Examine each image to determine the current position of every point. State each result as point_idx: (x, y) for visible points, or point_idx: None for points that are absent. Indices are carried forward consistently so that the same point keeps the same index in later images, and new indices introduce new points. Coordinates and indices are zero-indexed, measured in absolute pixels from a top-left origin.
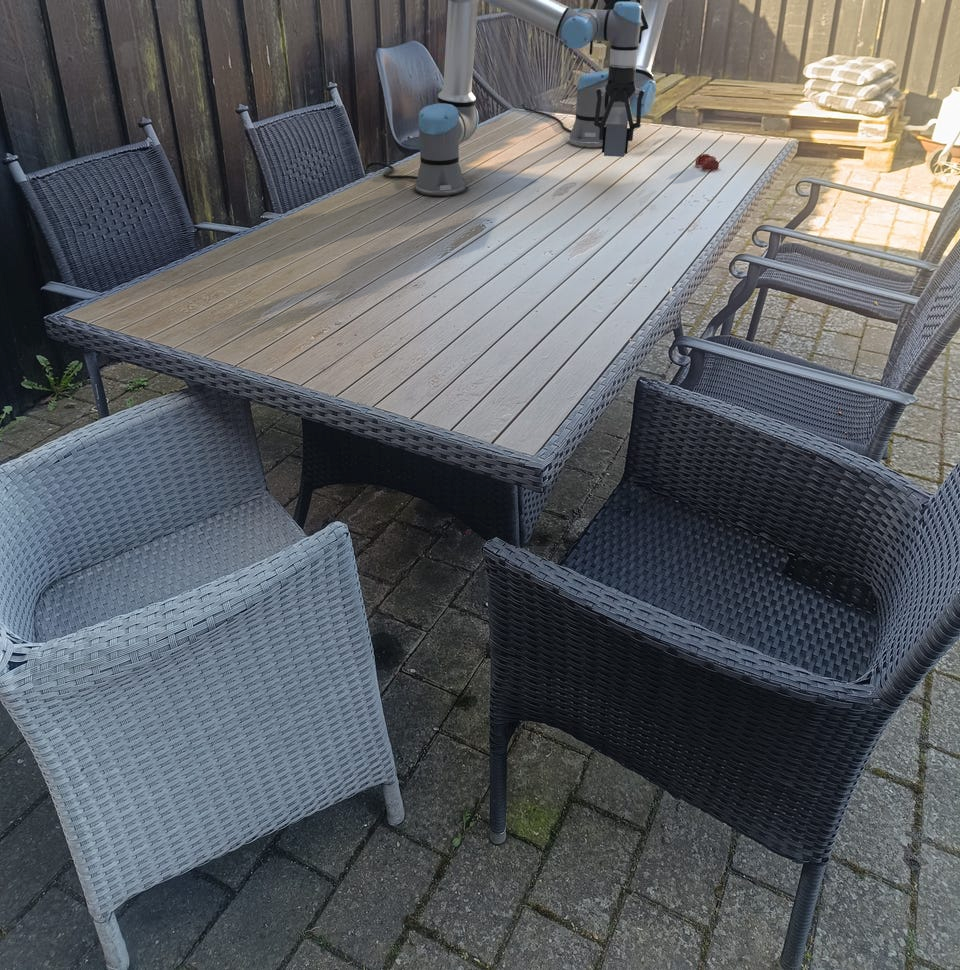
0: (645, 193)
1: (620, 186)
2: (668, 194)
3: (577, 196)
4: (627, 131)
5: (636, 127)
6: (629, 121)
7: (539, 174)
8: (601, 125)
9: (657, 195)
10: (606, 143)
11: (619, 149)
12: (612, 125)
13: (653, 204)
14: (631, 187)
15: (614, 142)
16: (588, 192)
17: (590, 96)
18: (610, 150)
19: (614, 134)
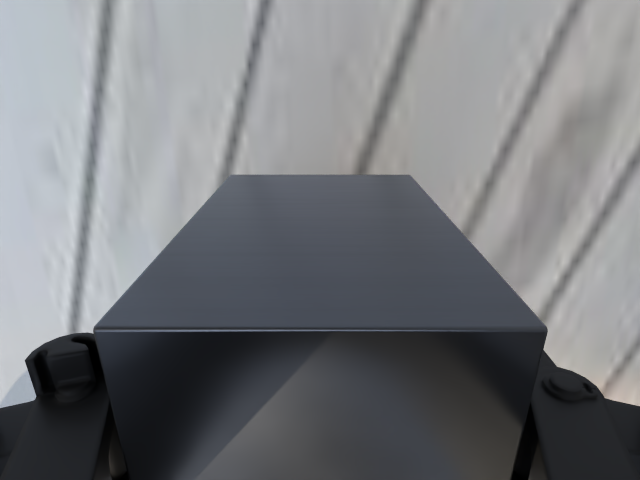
0: (154, 207)
1: None
2: (45, 207)
3: (488, 105)
4: None
5: (5, 411)
6: (68, 475)
7: (620, 397)
8: (584, 401)
9: (92, 184)
10: (421, 207)
11: (272, 191)
12: (414, 313)
13: (82, 19)
14: None
15: (331, 211)
16: (428, 181)
17: None
18: (361, 186)
19: (345, 244)
